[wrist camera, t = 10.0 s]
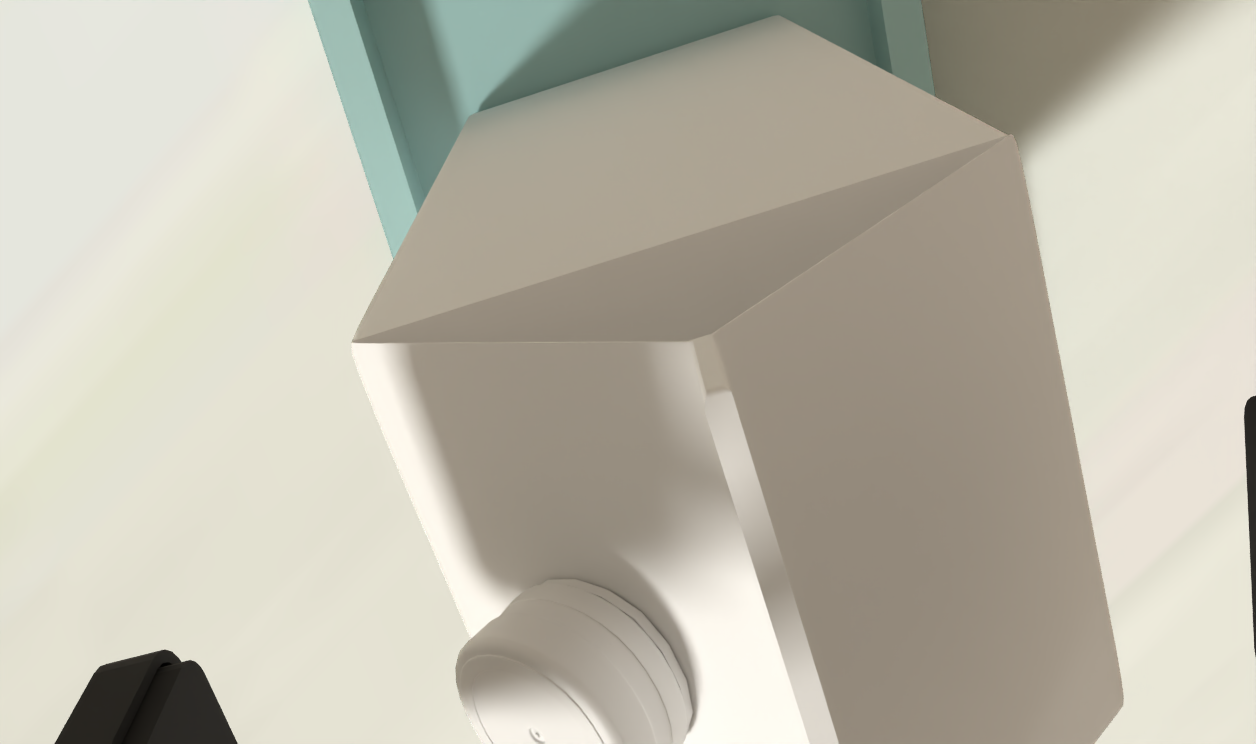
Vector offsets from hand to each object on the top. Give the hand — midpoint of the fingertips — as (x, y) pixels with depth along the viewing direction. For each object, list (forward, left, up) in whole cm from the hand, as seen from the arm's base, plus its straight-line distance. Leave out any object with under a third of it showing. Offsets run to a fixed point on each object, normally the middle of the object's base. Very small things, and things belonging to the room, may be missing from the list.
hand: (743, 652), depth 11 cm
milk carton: (+1, 0, -18) cm, 18 cm away
